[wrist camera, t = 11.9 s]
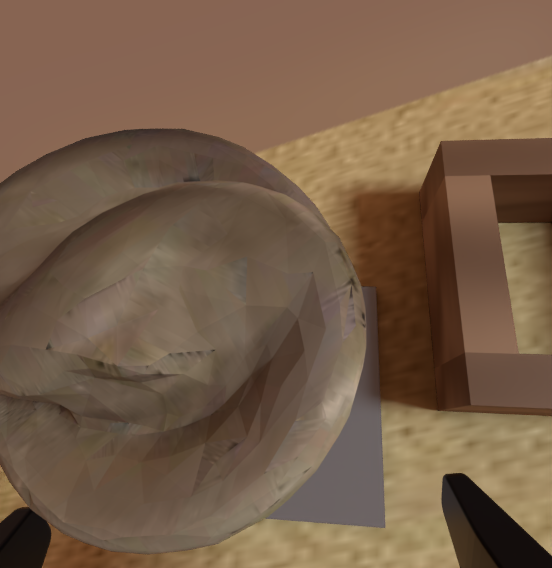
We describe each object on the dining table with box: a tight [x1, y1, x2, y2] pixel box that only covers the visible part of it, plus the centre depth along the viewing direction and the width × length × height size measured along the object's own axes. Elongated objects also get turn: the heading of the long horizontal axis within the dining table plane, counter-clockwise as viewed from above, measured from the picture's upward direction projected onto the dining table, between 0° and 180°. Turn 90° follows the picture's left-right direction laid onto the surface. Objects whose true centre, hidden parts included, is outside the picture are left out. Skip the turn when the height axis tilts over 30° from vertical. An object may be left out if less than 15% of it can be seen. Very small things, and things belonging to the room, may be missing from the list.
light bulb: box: [0, 129, 366, 554], centre depth 11 cm, size 6×6×15 cm
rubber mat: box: [266, 287, 385, 528], centre depth 18 cm, size 10×10×1 cm
